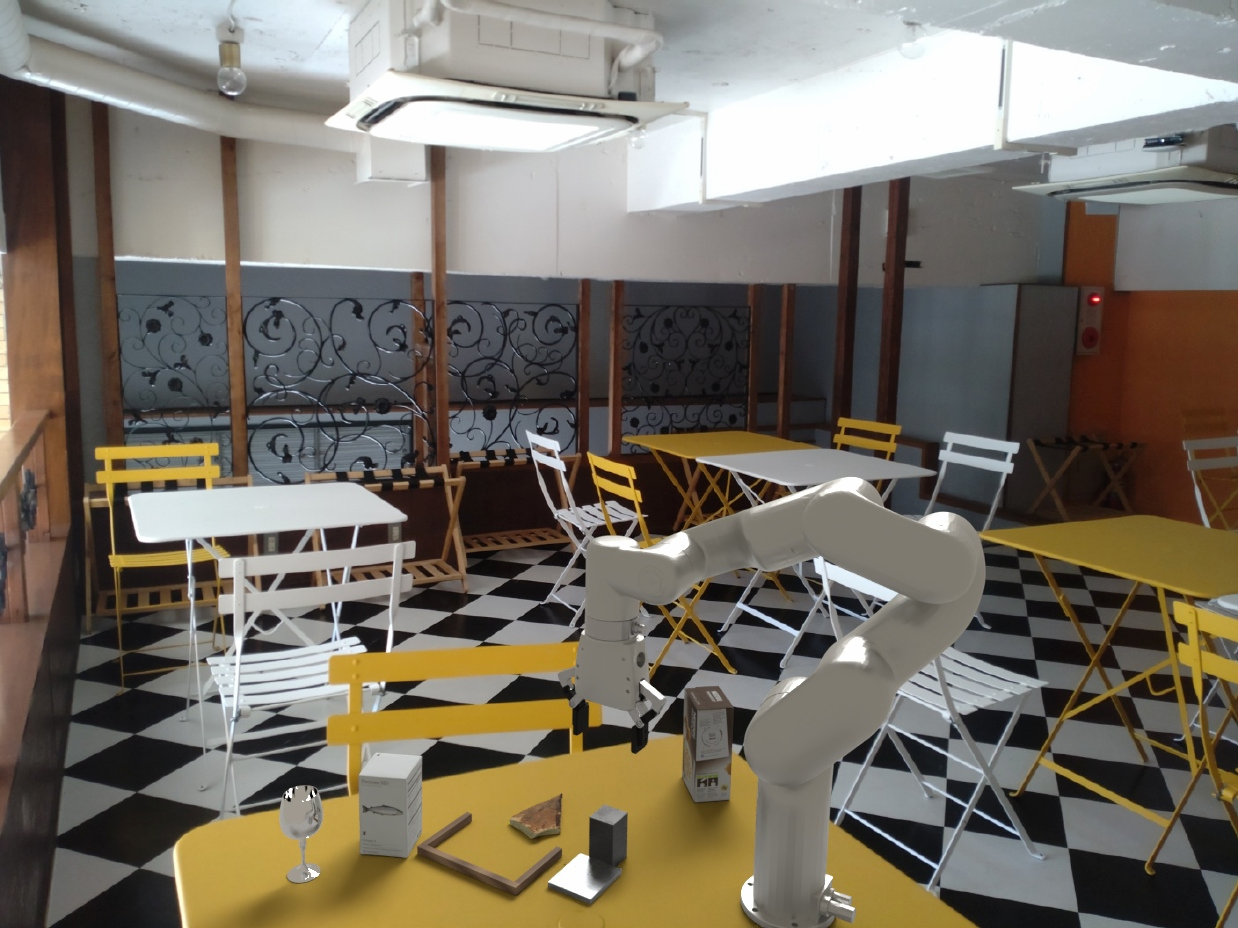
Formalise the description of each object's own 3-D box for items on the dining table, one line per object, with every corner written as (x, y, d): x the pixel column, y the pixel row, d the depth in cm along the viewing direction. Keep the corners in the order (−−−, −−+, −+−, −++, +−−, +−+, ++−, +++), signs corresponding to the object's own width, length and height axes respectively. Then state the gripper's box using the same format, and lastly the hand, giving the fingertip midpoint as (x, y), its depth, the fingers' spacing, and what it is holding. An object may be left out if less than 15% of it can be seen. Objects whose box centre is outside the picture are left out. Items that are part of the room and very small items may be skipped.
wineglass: (280, 888, 125) (276, 807, 123) (283, 864, 131) (280, 785, 129) (324, 882, 127) (321, 801, 125) (326, 858, 132) (323, 781, 130)
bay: (562, 855, 134) (562, 848, 134) (515, 895, 125) (515, 887, 125) (467, 818, 143) (466, 811, 143) (417, 853, 134) (417, 845, 134)
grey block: (595, 844, 137) (595, 801, 136) (635, 859, 134) (636, 815, 132) (547, 886, 127) (548, 840, 126) (590, 904, 123) (591, 856, 122)
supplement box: (358, 855, 133) (355, 774, 131) (377, 827, 141) (375, 750, 138) (407, 859, 133) (406, 778, 130) (424, 831, 140) (422, 753, 138)
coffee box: (731, 800, 150) (735, 707, 147) (693, 803, 149) (697, 710, 146) (716, 772, 159) (719, 684, 156) (680, 775, 158) (682, 686, 155)
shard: (561, 801, 150) (562, 791, 150) (593, 820, 144) (593, 810, 144) (507, 825, 143) (507, 814, 142) (538, 846, 137) (538, 835, 137)
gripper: (679, 630, 126) (675, 746, 129) (575, 606, 135) (573, 715, 138) (653, 646, 120) (649, 768, 123) (545, 620, 129) (544, 735, 132)
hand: (609, 740), depth 131 cm, fingers open, 9 cm apart
